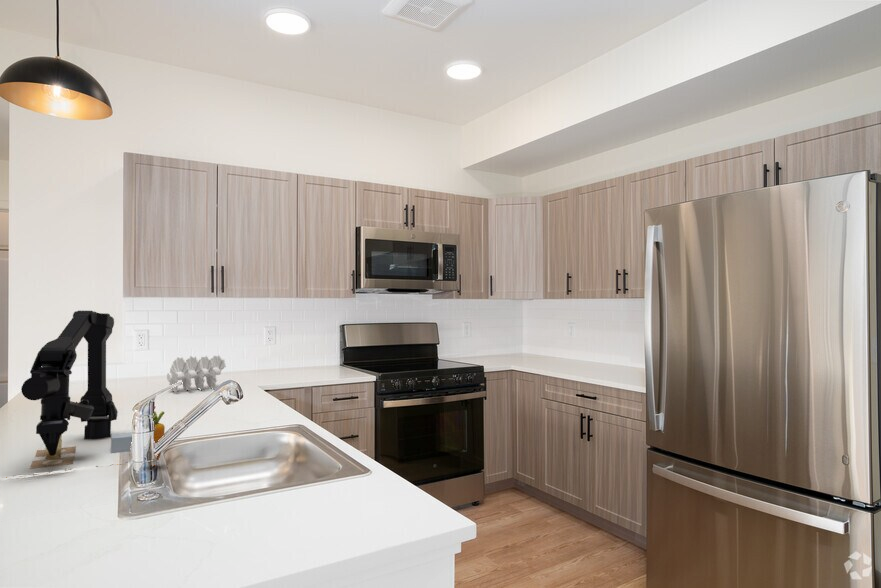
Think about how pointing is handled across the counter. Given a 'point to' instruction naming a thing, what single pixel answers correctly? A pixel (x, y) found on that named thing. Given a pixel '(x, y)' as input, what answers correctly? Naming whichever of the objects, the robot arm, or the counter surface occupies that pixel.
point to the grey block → (121, 442)
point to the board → (63, 451)
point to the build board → (52, 462)
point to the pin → (58, 452)
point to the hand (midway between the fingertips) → (53, 453)
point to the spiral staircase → (195, 371)
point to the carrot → (158, 429)
